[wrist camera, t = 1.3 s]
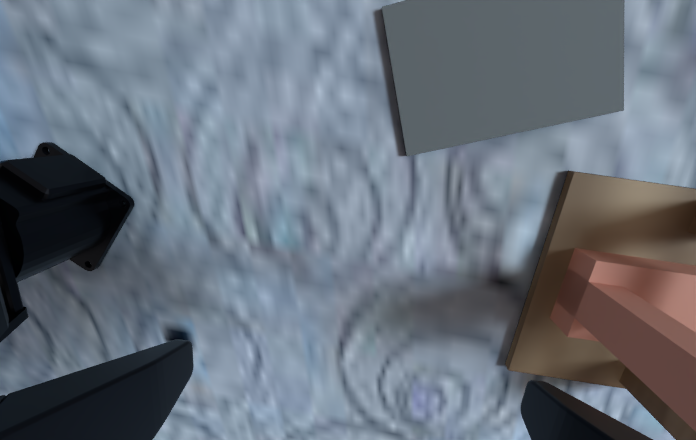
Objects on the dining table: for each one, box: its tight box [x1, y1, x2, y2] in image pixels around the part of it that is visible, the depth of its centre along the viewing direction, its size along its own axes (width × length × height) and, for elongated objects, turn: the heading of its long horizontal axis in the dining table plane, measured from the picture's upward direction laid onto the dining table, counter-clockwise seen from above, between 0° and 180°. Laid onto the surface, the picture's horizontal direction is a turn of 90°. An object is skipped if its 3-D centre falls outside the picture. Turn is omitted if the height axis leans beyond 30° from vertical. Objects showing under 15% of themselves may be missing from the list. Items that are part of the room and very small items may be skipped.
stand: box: [505, 171, 696, 440], centre depth 17 cm, size 13×14×8 cm
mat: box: [382, 0, 624, 156], centre depth 18 cm, size 12×8×1 cm, turn 102°
